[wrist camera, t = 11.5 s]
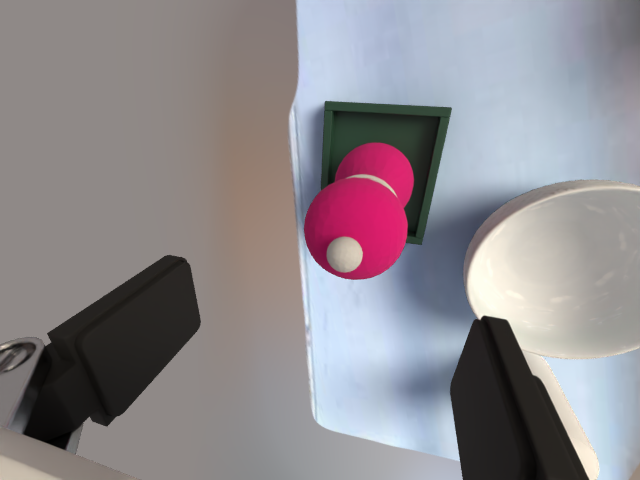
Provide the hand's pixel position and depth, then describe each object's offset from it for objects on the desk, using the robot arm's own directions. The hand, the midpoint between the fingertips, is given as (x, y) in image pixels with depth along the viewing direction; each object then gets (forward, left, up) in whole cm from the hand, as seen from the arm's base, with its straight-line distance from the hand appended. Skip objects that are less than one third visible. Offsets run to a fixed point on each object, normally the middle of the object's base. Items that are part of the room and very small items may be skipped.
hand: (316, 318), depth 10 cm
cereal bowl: (+6, +18, -25) cm, 32 cm away
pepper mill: (0, 0, -25) cm, 25 cm away
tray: (0, 0, -25) cm, 25 cm away
